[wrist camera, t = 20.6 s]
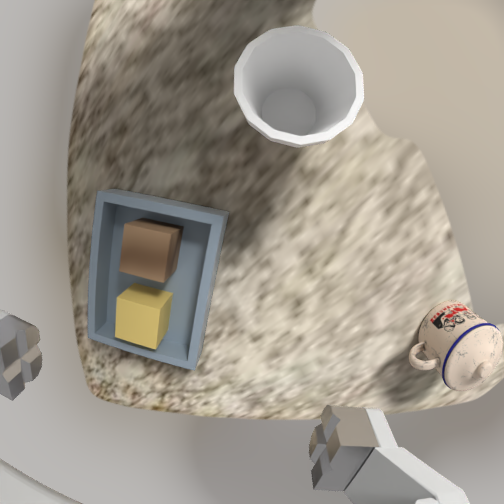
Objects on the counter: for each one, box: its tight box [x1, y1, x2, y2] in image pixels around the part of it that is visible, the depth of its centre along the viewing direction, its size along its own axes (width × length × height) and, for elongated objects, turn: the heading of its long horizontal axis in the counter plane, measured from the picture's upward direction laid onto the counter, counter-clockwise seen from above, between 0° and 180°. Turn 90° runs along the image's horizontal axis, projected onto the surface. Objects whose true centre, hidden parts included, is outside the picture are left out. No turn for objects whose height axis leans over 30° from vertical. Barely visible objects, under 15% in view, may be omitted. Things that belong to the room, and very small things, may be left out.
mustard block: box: [115, 283, 173, 349], centre depth 35 cm, size 5×5×5 cm
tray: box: [88, 189, 229, 370], centre depth 36 cm, size 18×14×4 cm
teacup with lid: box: [409, 301, 503, 391], centre depth 32 cm, size 12×9×12 cm
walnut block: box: [119, 217, 184, 283], centre depth 33 cm, size 5×5×5 cm
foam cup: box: [234, 25, 364, 148], centre depth 27 cm, size 10×9×13 cm
